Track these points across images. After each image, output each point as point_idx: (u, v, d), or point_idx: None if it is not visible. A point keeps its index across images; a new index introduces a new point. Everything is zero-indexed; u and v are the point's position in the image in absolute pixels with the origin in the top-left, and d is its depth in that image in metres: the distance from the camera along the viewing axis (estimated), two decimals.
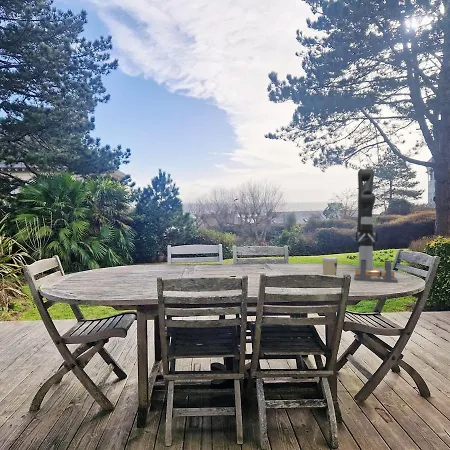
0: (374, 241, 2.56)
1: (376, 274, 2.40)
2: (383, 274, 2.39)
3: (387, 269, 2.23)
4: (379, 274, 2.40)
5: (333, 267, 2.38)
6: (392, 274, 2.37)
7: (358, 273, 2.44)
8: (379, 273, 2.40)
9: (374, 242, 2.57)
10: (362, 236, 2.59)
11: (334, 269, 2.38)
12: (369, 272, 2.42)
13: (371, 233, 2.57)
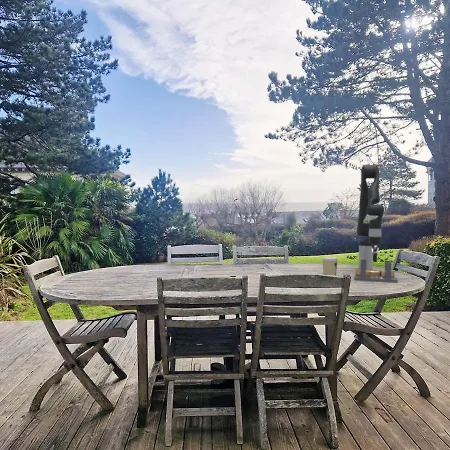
0: None
1: (376, 274, 2.40)
2: (383, 274, 2.39)
3: (387, 269, 2.23)
4: (379, 274, 2.40)
5: (333, 267, 2.38)
6: (392, 274, 2.37)
7: (358, 273, 2.44)
8: (379, 273, 2.40)
9: None
10: None
11: (334, 269, 2.38)
12: (369, 272, 2.42)
13: None
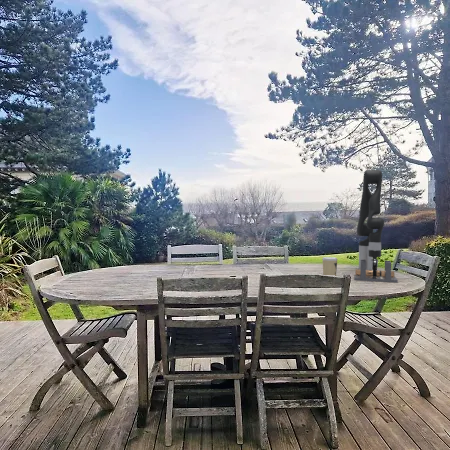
0: None
1: None
2: (383, 274, 2.39)
3: (387, 269, 2.23)
4: (379, 274, 2.40)
5: (333, 267, 2.38)
6: (392, 274, 2.37)
7: (358, 273, 2.44)
8: (379, 273, 2.40)
9: None
10: (377, 264, 2.40)
11: (334, 269, 2.38)
12: (369, 272, 2.42)
13: None
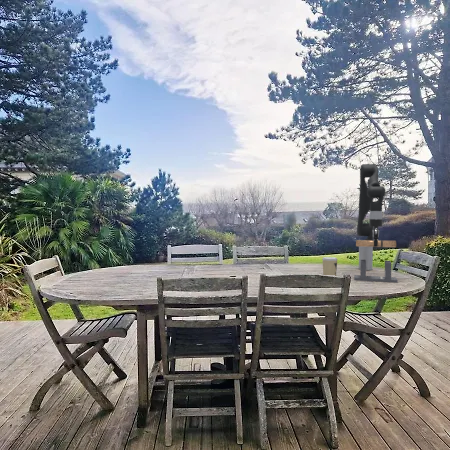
0: None
1: None
2: (384, 244, 2.32)
3: (387, 269, 2.23)
4: (380, 244, 2.33)
5: (333, 267, 2.38)
6: (394, 243, 2.30)
7: (359, 243, 2.37)
8: (380, 243, 2.33)
9: None
10: (378, 233, 2.33)
11: (334, 269, 2.38)
12: (370, 242, 2.35)
13: None
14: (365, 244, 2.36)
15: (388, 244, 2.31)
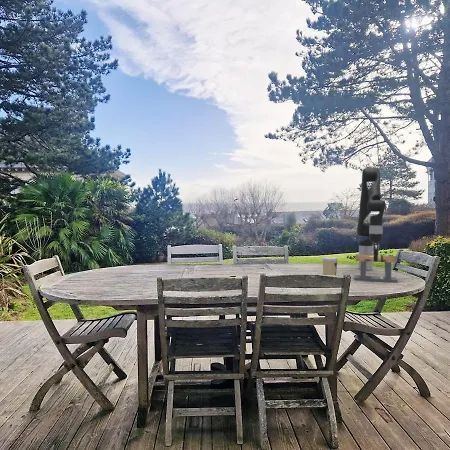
0: (377, 253, 2.32)
1: None
2: (385, 259, 2.26)
3: (387, 269, 2.23)
4: (380, 259, 2.27)
5: (333, 267, 2.38)
6: (394, 259, 2.25)
7: (358, 258, 2.31)
8: (380, 258, 2.27)
9: None
10: (378, 248, 2.27)
11: (334, 269, 2.38)
12: (370, 257, 2.29)
13: None
14: (365, 259, 2.30)
15: (388, 259, 2.26)
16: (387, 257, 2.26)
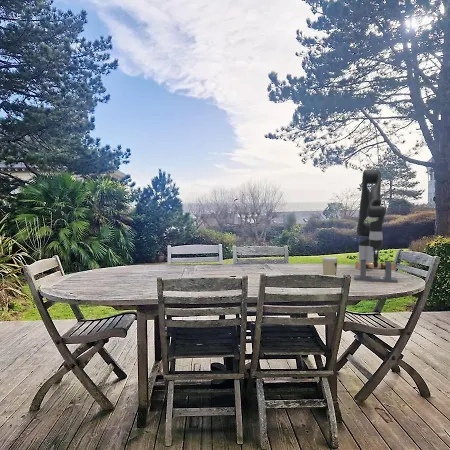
0: (377, 259, 2.33)
1: (377, 267, 2.28)
2: (384, 267, 2.27)
3: (387, 269, 2.23)
4: (380, 267, 2.27)
5: (333, 267, 2.38)
6: (394, 267, 2.25)
7: (358, 266, 2.32)
8: (380, 266, 2.27)
9: None
10: (378, 254, 2.27)
11: (334, 269, 2.38)
12: (370, 265, 2.29)
13: None
14: None
15: None
16: None
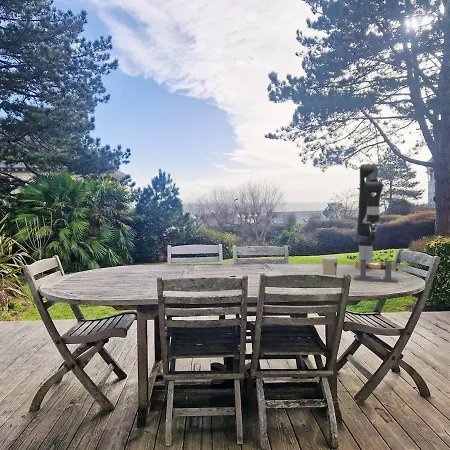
0: None
1: (377, 267, 2.28)
2: (384, 267, 2.27)
3: (387, 269, 2.23)
4: (380, 267, 2.27)
5: (333, 267, 2.38)
6: (394, 267, 2.25)
7: (358, 266, 2.32)
8: (380, 266, 2.27)
9: None
10: (375, 228, 2.31)
11: (334, 269, 2.38)
12: (370, 265, 2.29)
13: None
14: None
15: None
16: None
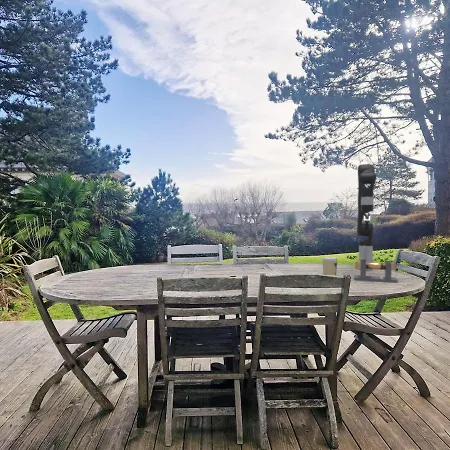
0: None
1: (377, 267, 2.28)
2: (384, 267, 2.27)
3: (387, 269, 2.23)
4: (380, 267, 2.27)
5: (333, 267, 2.38)
6: (394, 267, 2.25)
7: (358, 266, 2.32)
8: (380, 266, 2.27)
9: None
10: (369, 218, 2.40)
11: (334, 269, 2.38)
12: (370, 265, 2.29)
13: None
14: None
15: None
16: None
